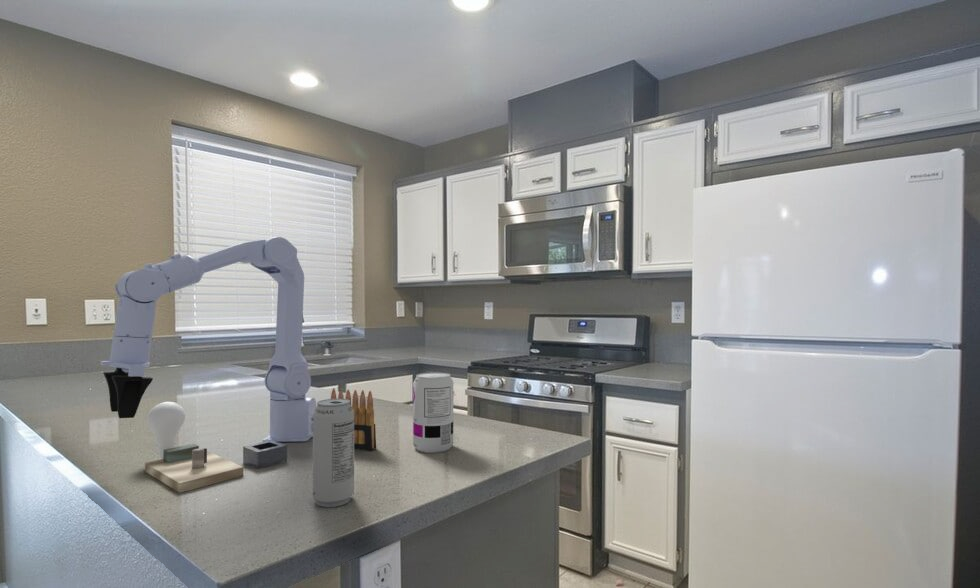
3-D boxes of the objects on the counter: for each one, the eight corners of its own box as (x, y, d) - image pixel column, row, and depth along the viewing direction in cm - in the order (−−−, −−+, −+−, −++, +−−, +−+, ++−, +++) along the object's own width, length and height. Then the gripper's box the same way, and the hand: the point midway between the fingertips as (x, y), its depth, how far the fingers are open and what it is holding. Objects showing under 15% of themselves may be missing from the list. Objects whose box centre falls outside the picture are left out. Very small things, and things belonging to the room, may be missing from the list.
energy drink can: (334, 490, 81) (335, 396, 81) (362, 497, 78) (362, 400, 78) (303, 503, 76) (304, 403, 76) (332, 511, 73) (332, 407, 73)
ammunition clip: (376, 448, 104) (376, 390, 104) (371, 451, 102) (371, 391, 102) (332, 444, 107) (332, 387, 107) (326, 446, 106) (327, 388, 106)
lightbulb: (166, 465, 93) (166, 405, 93) (138, 463, 94) (139, 404, 95) (192, 455, 99) (192, 399, 99) (165, 453, 100) (166, 398, 101)
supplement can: (405, 451, 102) (405, 376, 102) (425, 440, 110) (425, 371, 110) (441, 455, 99) (441, 379, 99) (459, 444, 107) (459, 373, 107)
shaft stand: (144, 471, 90) (144, 445, 90) (204, 457, 98) (204, 434, 98) (179, 492, 80) (179, 464, 80) (243, 475, 88) (243, 449, 88)
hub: (243, 462, 95) (243, 446, 95) (271, 455, 99) (272, 440, 99) (257, 468, 91) (257, 452, 91) (286, 461, 96) (286, 445, 96)
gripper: (98, 334, 93) (88, 409, 91) (112, 337, 82) (100, 422, 81) (144, 336, 97) (134, 407, 96) (162, 339, 87) (151, 419, 86)
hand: (122, 414), depth 89 cm, fingers open, 7 cm apart
